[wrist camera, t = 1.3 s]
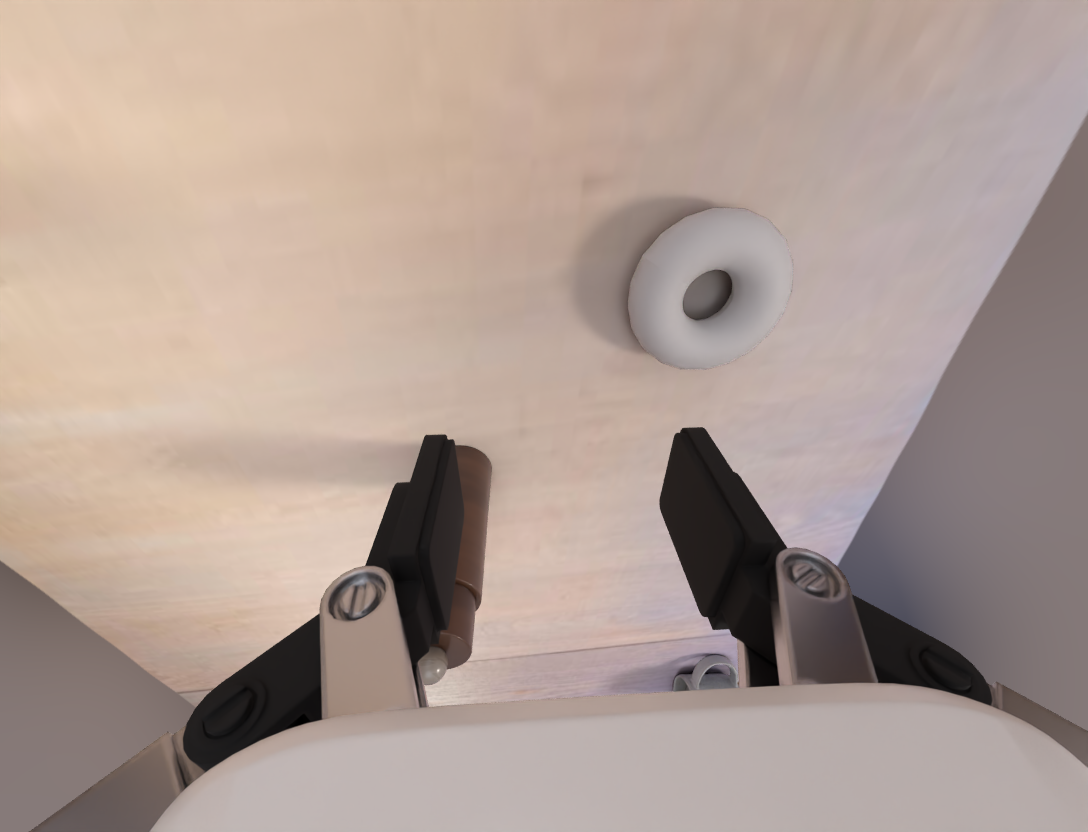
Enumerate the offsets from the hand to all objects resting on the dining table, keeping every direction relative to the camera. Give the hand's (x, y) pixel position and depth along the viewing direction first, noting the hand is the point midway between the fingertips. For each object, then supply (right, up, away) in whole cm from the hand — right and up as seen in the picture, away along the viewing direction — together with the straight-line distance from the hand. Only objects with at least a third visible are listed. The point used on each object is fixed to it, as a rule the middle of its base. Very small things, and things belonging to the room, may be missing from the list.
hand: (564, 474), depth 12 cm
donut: (+10, +10, +15) cm, 21 cm away
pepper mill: (-7, -3, +23) cm, 24 cm away
